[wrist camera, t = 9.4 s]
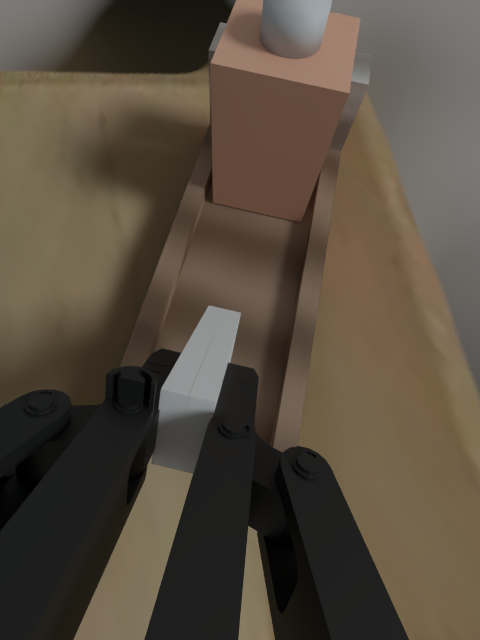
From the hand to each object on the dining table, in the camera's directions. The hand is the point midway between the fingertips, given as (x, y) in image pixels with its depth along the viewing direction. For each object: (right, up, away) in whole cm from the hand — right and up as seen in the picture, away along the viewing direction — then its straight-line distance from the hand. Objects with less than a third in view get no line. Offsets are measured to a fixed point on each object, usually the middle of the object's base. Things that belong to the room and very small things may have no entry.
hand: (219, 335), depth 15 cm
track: (+1, +5, +8) cm, 9 cm away
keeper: (+3, +11, +9) cm, 15 cm away
